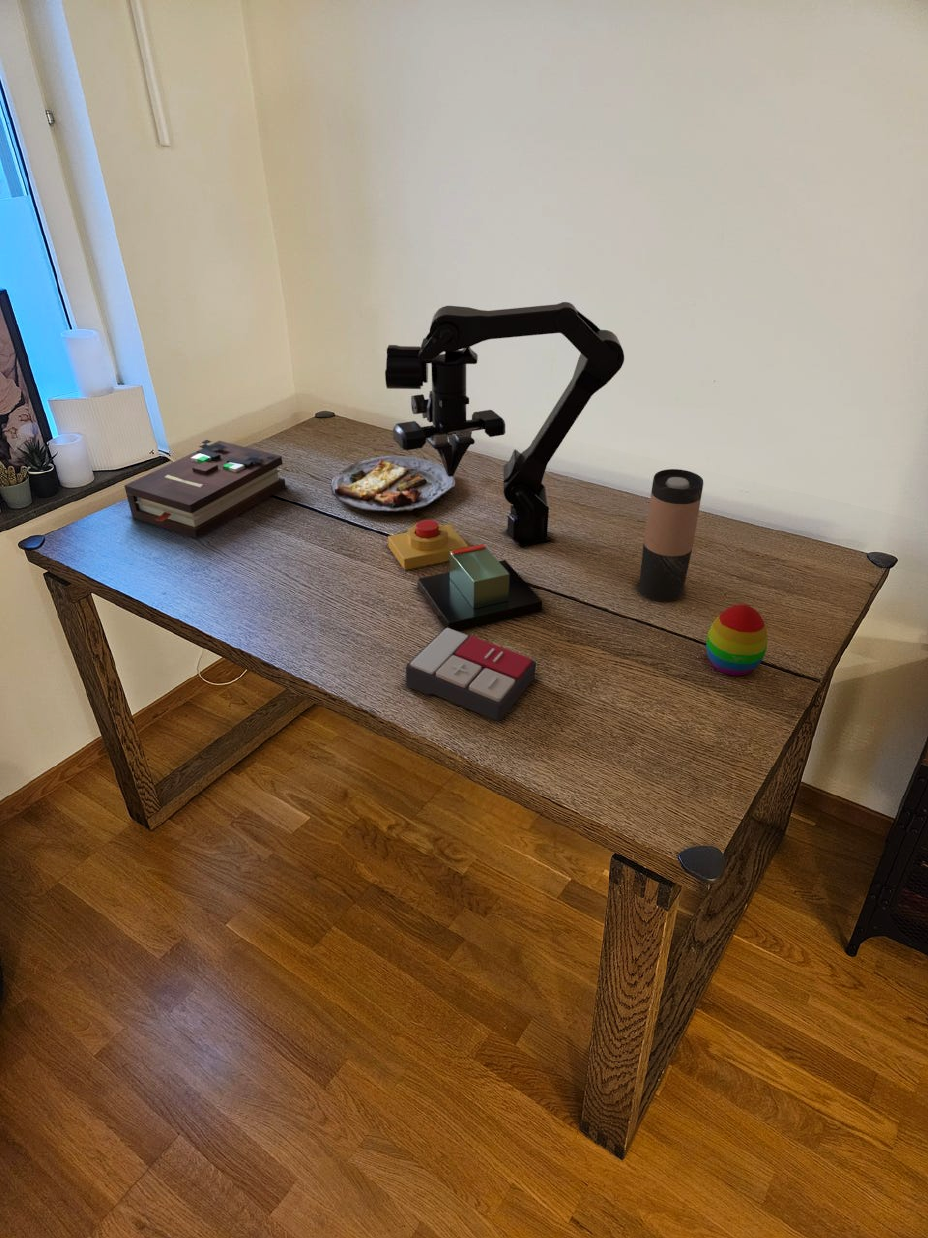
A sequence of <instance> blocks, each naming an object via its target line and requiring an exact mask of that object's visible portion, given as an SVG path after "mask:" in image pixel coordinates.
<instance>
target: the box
mask: <svg viewBox="0 0 928 1238" xmlns="http://www.w3.org/2000/svg"><path fill="white" fill-rule="evenodd" d="M498 561H499V560H498V559H497V558H496V557H495V556H494V555H493V553H491V551H490V550H489V549H488V548H487V547H486V545H485V544H483V543H482V544H478V545H472V546H469V547H467V548H462V549H457V550H452V551H451V552H450V561H449V572H450V579H451V580H452V581H453V583H454V584H455V585H456V587H457V588H458V589H459V590H460V592H461V593H462V594H463V596H464V597H465V598H466V599H467V601H468V602H469V603H470V605H471V606H472V607H473V608H474V609H476V608H480V607H484V606H488V605H493V604H497V603H501V602H506V601H509V573H508V572H507V570H506V569H505V568H504V567H503V566H502V565H501V564H500V563H499V562H498Z"/></svg>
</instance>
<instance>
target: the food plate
mask: <svg viewBox="0 0 928 1238" xmlns="http://www.w3.org/2000/svg"><path fill="white" fill-rule="evenodd" d="M455 485H456V479H455V476H454V475H453V476H451V477H449V476H448V475H447V474H446V471H445V468H444V465H443V464H442V465H441V464H439V463H438V462H435V461H433V460H430V459H424V458H420V457H416V456H405V455H403V456H401V455H386V456H379V457H377V456H376V457H373V458H371V459H370V458H369V459H366V460H360V461H357V462H355V463H353V464H351V465H349V466H348V467H347V468H345V469H344V470H342V471H341V472H339V473H338V474H337V475H335V476H334V477H333V478H332V480H331V481H330V488H331V494H332V496H334V497H335V498H336V499H337V501H340V502H341V503H343V504H346V505H348V506H350V507H353V508H356V509H358V510H361V511H367V512H387V513H396V512H397V513H400V512H404V514H405V513H406V512H411V511H413V510H414V509H417V510H420V509H423V508H424V507H426V506H428V505H430V504H431V503H433V502H435V501H436V500H438V499H440V498H441V496H443V495H444V494H446V493H447V492H448V491H449V490H450V489H452V488H455Z"/></svg>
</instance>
